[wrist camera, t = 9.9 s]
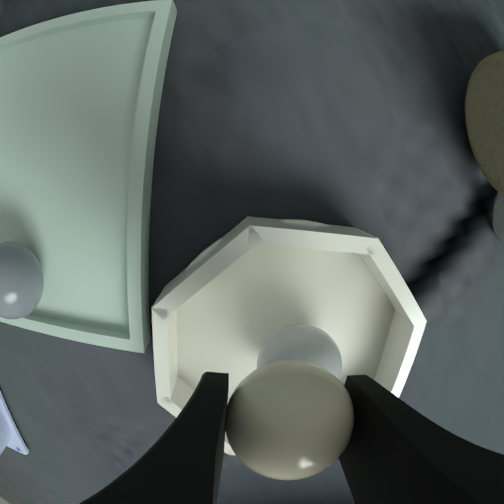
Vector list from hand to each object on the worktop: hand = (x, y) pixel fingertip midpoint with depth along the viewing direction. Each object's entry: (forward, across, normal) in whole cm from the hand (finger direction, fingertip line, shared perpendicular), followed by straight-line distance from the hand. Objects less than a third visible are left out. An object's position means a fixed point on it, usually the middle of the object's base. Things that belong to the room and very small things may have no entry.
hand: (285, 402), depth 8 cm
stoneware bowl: (+6, -1, +1) cm, 6 cm away
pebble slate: (+5, +12, -1) cm, 13 cm away
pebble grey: (+5, -1, +1) cm, 5 cm away
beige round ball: (+1, 0, 0) cm, 1 cm away
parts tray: (+6, +12, -6) cm, 14 cm away
